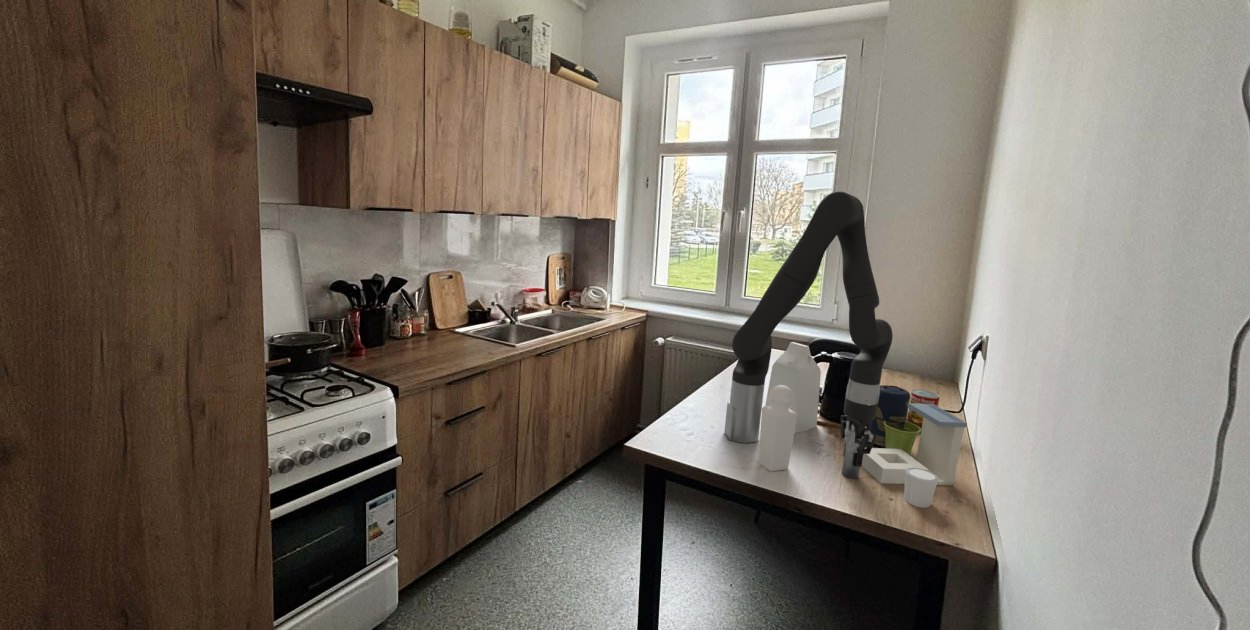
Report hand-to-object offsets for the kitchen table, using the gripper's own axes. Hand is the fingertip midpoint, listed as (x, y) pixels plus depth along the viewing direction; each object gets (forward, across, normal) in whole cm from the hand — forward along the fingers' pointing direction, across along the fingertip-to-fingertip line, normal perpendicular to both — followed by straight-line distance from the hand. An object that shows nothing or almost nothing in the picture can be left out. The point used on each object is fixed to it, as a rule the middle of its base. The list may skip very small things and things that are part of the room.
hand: (852, 461), depth 136 cm
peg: (+4, 0, 0) cm, 4 cm away
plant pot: (+4, -13, +21) cm, 25 cm away
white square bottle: (+4, -4, -19) cm, 20 cm away
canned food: (+4, -33, +40) cm, 52 cm away
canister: (+4, -20, +21) cm, 29 cm away
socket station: (+4, -2, +16) cm, 16 cm away
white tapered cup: (+4, +12, +10) cm, 16 cm away
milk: (+4, -34, -3) cm, 34 cm away
